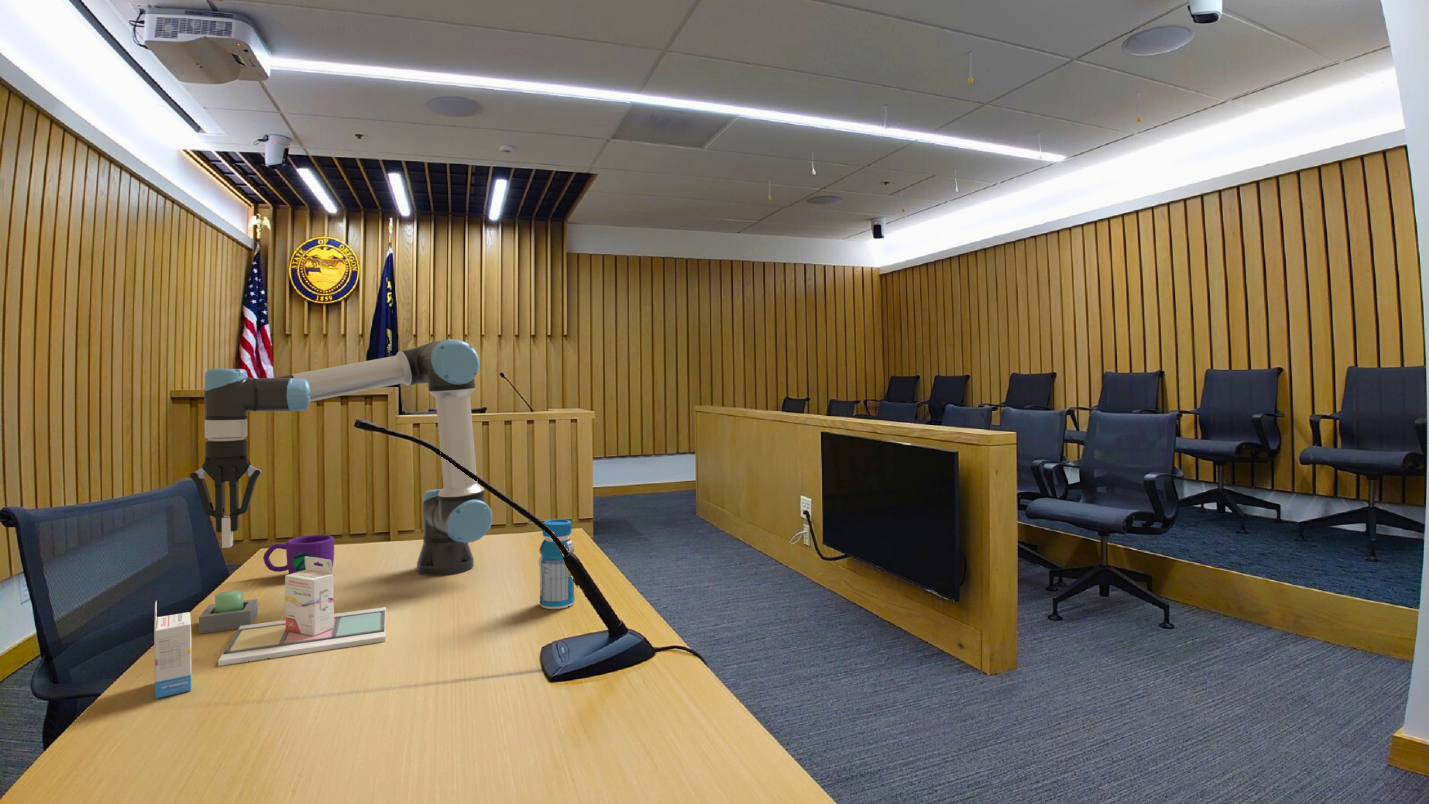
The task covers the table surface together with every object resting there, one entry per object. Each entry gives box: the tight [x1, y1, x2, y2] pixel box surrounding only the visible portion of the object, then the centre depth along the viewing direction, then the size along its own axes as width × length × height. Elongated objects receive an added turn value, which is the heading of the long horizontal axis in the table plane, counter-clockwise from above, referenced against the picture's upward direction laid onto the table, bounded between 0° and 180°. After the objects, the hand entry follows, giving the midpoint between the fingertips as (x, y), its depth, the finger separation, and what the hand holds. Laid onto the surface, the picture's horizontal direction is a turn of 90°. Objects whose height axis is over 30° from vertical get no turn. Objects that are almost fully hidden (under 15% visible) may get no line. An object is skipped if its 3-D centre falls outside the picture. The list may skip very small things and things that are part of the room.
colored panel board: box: [217, 606, 387, 667], centre depth 140 cm, size 28×20×1 cm
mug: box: [262, 534, 335, 575], centre depth 184 cm, size 17×11×10 cm, turn 103°
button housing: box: [198, 598, 259, 635], centre depth 147 cm, size 9×9×4 cm
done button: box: [214, 590, 244, 613], centre depth 147 cm, size 5×5×5 cm
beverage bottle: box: [538, 518, 576, 610], centre depth 160 cm, size 8×8×20 cm
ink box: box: [153, 600, 192, 700], centre depth 116 cm, size 8×5×15 cm, turn 39°
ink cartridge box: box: [284, 556, 335, 636], centre depth 139 cm, size 9×5×15 cm, turn 70°
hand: (227, 546), depth 146 cm, fingers closed
